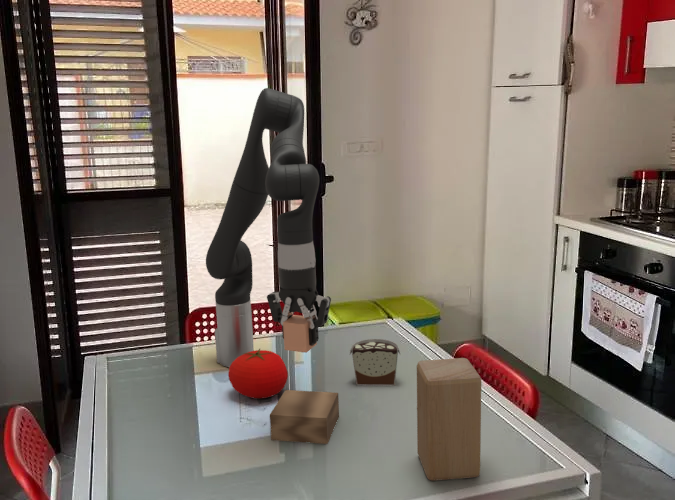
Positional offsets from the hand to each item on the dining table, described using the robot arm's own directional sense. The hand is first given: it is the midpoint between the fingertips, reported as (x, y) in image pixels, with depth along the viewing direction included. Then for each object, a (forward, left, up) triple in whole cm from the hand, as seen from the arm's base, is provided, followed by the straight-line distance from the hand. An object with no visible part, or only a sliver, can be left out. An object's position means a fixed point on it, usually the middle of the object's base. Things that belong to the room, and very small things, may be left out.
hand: (300, 342), depth 137 cm
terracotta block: (0, 0, -1) cm, 1 cm away
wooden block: (+32, -5, -20) cm, 38 cm away
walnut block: (0, 0, -20) cm, 20 cm away
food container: (+6, +28, -20) cm, 35 cm away
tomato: (-18, +12, -20) cm, 29 cm away
